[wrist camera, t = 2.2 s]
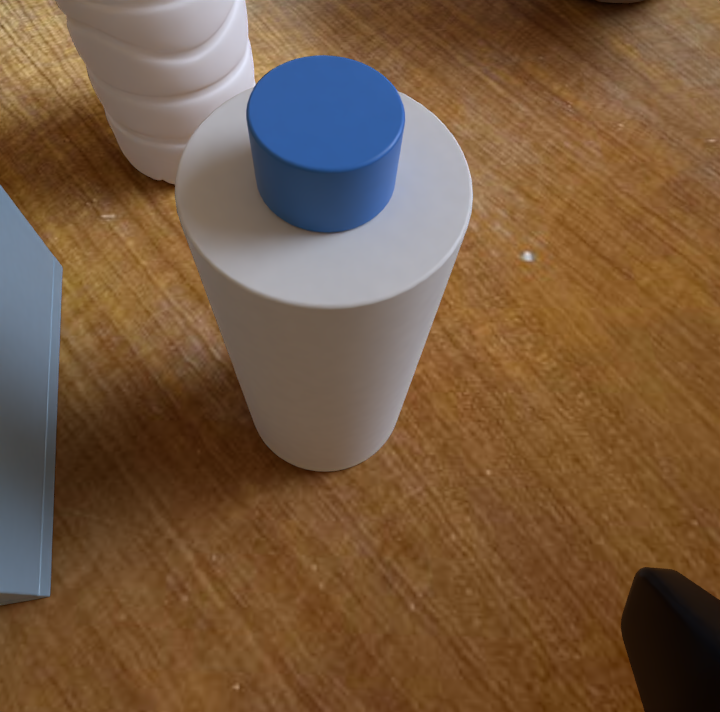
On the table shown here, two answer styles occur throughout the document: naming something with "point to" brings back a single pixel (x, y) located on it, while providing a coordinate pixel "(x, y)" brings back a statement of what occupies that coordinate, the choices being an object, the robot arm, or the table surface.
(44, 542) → the light blue box
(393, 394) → the detergent bottle
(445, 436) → the table surface
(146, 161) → the water bottle
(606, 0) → the mortar
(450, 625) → the table surface
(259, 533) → the table surface
